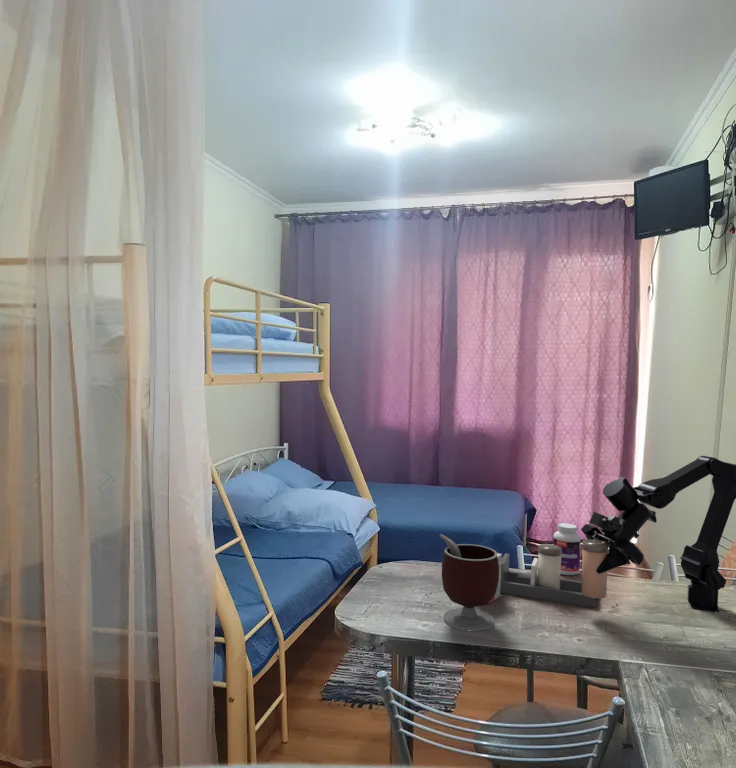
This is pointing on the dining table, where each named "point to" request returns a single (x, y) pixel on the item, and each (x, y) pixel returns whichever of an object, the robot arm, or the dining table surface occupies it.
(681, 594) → the dining table surface
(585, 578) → the terracotta jar
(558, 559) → the cream jar
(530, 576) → the pusher
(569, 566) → the pill bottle
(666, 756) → the dining table surface
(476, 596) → the mate gourd
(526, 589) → the grey jar rack
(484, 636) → the dining table surface
